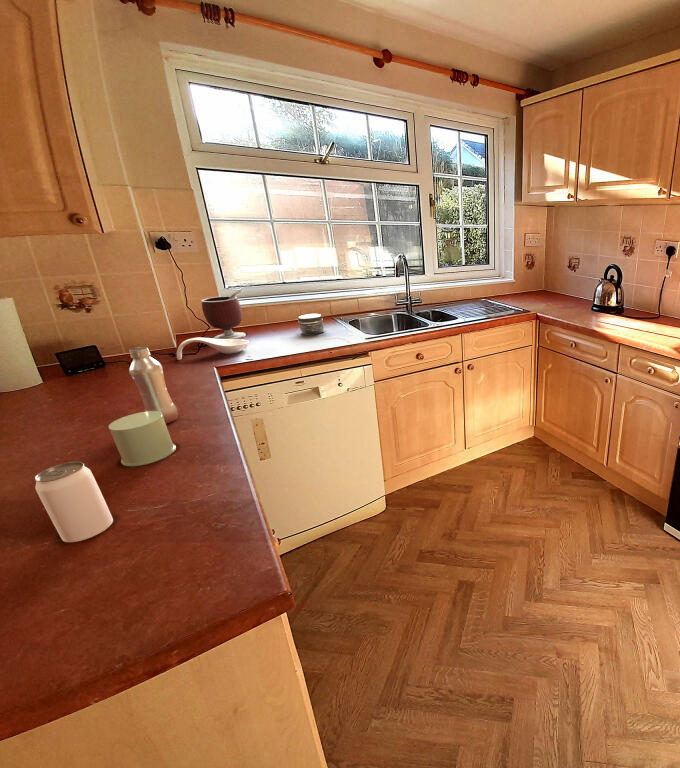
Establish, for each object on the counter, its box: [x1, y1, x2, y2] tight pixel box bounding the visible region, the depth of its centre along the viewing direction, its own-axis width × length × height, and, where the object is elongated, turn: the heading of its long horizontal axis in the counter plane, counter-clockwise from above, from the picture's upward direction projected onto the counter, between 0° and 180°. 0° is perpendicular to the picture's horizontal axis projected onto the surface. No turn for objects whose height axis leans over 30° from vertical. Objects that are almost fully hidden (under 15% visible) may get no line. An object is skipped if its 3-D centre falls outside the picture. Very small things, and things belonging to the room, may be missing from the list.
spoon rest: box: [176, 337, 250, 361], centre depth 163 cm, size 24×12×7 cm, turn 123°
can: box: [34, 461, 114, 543], centre depth 70 cm, size 6×6×12 cm
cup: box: [108, 411, 177, 467], centre depth 93 cm, size 10×10×9 cm
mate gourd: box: [201, 290, 247, 339], centre depth 184 cm, size 16×14×20 cm
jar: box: [297, 313, 325, 336], centre depth 192 cm, size 10×10×8 cm
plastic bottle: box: [128, 346, 179, 425], centre depth 106 cm, size 6×7×20 cm
